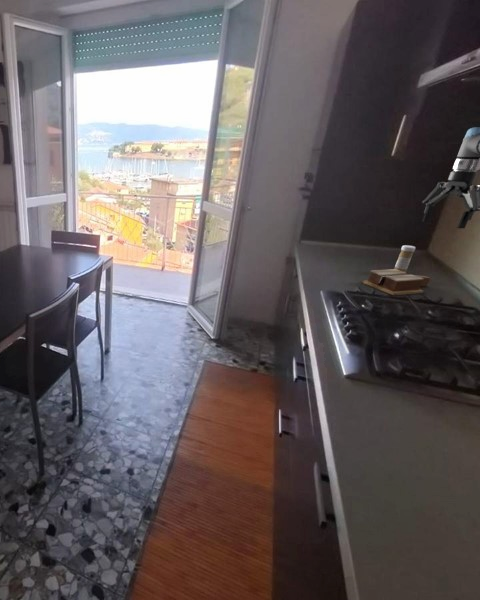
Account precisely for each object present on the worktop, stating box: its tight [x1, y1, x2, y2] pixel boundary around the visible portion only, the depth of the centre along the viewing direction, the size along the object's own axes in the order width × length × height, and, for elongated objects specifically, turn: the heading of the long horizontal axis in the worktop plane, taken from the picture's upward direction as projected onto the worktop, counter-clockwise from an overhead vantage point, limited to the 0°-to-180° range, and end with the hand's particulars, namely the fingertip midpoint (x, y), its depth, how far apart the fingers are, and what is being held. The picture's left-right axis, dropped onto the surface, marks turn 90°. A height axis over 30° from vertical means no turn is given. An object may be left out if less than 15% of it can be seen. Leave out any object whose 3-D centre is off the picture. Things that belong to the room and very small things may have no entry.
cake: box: [362, 268, 424, 296], centre depth 148 cm, size 14×14×6 cm
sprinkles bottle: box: [393, 244, 416, 273], centre depth 162 cm, size 5×5×14 cm
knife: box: [379, 274, 431, 287], centre depth 149 cm, size 23×2×4 cm, turn 99°
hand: (442, 224), depth 148 cm, fingers open, 13 cm apart
